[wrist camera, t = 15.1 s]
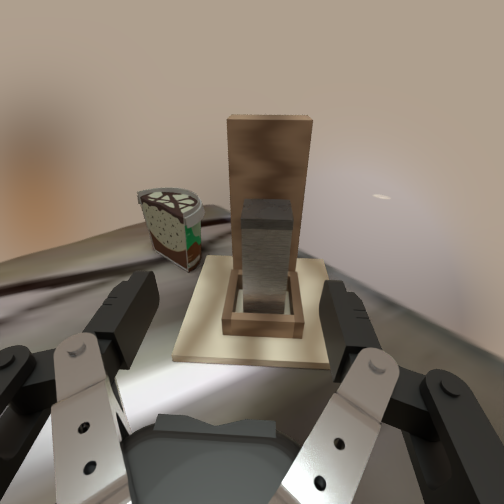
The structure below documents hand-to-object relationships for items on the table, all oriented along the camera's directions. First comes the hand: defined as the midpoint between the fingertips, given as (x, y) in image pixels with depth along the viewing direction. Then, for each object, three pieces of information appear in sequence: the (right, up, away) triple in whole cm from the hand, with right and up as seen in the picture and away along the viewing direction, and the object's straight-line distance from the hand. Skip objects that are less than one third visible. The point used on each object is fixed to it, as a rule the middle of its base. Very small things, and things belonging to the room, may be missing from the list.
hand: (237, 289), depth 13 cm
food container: (-10, +1, +32) cm, 33 cm away
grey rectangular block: (+2, -5, +19) cm, 20 cm away
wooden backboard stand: (+2, -5, +22) cm, 22 cm away
